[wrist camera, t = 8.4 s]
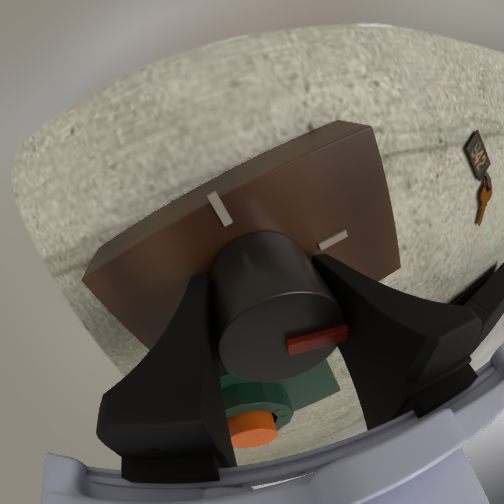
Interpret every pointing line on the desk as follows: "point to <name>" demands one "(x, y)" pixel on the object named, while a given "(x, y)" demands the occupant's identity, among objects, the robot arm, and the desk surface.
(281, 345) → the knob
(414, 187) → the desk surface
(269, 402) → the button block
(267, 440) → the button
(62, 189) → the desk surface
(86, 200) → the desk surface
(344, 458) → the robot arm
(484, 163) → the key tag
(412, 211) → the desk surface
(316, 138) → the lock panel
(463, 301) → the walkie-talkie
